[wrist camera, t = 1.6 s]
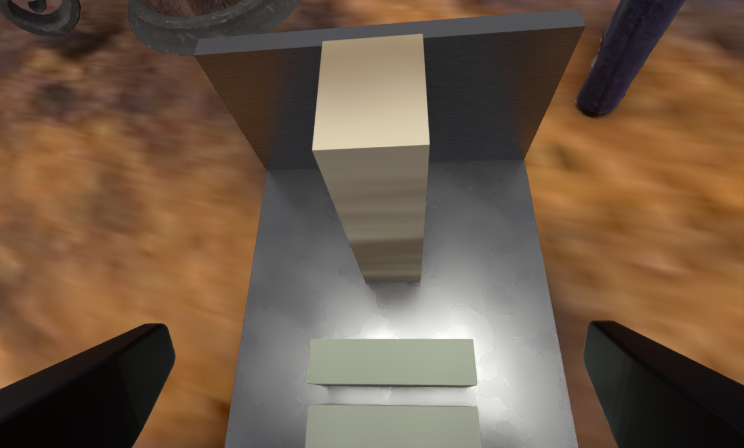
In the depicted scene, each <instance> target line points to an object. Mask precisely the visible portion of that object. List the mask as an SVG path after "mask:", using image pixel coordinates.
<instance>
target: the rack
mask: <svg viewBox="0 0 744 448" xmlns="http://www.w3.org/2000/svg"><path fill="white" fill-rule="evenodd" d="M584 28H585V24H584V21H583V18H582V15H581V12H580V9H572V10H559V11H546V12H534V13H521V14H508V15H496V16H483V17H470V18H458V19H445V20H432V21H420V22H407V23H394V24H382V25H369V26H356V27H344V28H331V29H318V30H306V31H293V32H280V33H268V34H255V35H242V36H230V37H217V38H204V39H199V40H198V44H197V47H196V51H195V54H194V56H195V57H196V59H197V61H198V62H199V64H200V65H201V67H202V69H203V70H204V72H205V73H206V75H207V76H208V78H209V80H210V81H211V83H212V84H213V86H214V88H215V89H216V91H217V92H218V94H219V95H220V97H221V99H222V100H223V102H224V103H225V105H226V107H227V108H228V110H229V111H230V113H231V114H232V116H233V118H234V119H235V121H236V122H237V124H238V126H239V127H240V129H241V130H242V132H243V133H244V135H245V137H246V138H247V140H248V141H249V143H250V145H251V146H252V148H253V149H254V151H255V152H256V154H257V156H258V157H259V159H260V160H261V162H262V163H263V165H264V167H265V168H266V170H267V173H266V180H265V186H264V193H263V199H262V206H261V213H260V219H259V226H258V232H257V239H256V245H255V252H254V258H253V265H252V271H251V278H250V284H249V291H248V297H247V304H246V310H245V317H244V323H243V330H242V336H241V343H240V349H239V356H238V362H237V369H236V375H235V382H234V388H233V395H232V401H231V408H230V415H229V421H228V428H227V434H226V441H225V447H224V448H305V441H306V428H307V414H308V405H309V404H344V405H410V406H471V407H478V414H479V425H480V435H481V446H482V448H578V443H577V438H576V433H575V427H574V422H573V417H572V411H571V406H570V401H569V395H568V390H567V385H566V379H565V374H564V369H563V363H562V358H561V353H560V348H559V342H558V337H557V332H556V326H555V321H554V316H553V310H552V305H551V300H550V294H549V289H548V284H547V278H546V273H545V268H544V262H543V257H542V252H541V246H540V241H539V236H538V231H537V225H536V220H535V215H534V209H533V204H532V199H531V193H530V188H529V183H528V177H527V172H526V167H525V161H524V158H525V156H526V154H527V152H528V150H529V147H530V145H531V143H532V141H533V139H534V137H535V134H536V132H537V130H538V128H539V126H540V123H541V121H542V119H543V117H544V115H545V113H546V110H547V108H548V106H549V104H550V102H551V99H552V97H553V95H554V93H555V91H556V89H557V86H558V84H559V82H560V80H561V78H562V76H563V73H564V71H565V69H566V67H567V65H568V62H569V60H570V58H571V56H572V54H573V52H574V49H575V47H576V45H577V43H578V41H579V38H580V36H581V34H582V32H583V30H584ZM412 34H423V47H424V63H425V79H426V95H427V110H428V126H429V142H430V147H429V162H428V178H427V193H426V208H425V223H424V239H423V254H422V269H421V281H417V282H365V281H364V278H363V276H362V273H361V271H360V268H359V266H358V263H357V261H356V258H355V256H354V253H353V251H352V248H351V246H350V243H349V241H348V239H347V236H346V234H345V231H344V229H343V226H342V224H341V221H340V219H339V216H338V214H337V211H336V209H335V206H334V204H333V201H332V199H331V196H330V194H329V191H328V189H327V186H326V184H325V181H324V179H323V176H322V174H321V171H320V169H319V166H318V164H317V161H316V159H315V156H314V154H313V151H312V147H313V136H314V126H315V116H316V105H317V95H318V84H319V74H320V64H321V53H322V43H323V41H333V40H346V39H360V38H373V37H386V36H399V35H412ZM310 339H473V342H474V352H475V363H476V373H477V383H478V385H476V386H472V387H468V388H457V387H362V386H319V385H313V384H307V376H308V363H309V350H310Z"/></svg>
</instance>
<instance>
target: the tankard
mask: <svg viewBox="0 0 744 448" xmlns="http://www.w3.org/2000/svg"><path fill="white" fill-rule="evenodd" d="M300 1H301V0H129V3H130V5H129V10H128V20H129V23H130V27H131V30H132V31H133V33H134V34H135V35H136V37H137V38H138V39H139V40H140V41H141V42H143V43H144V44H145V45H147V46H148V47H150V48H152V49H155V50H157V51H160V52H162V53H167V54H173V55H179V56H194V54H195V51H196V47H197V44H198V40H199V39H204V38H217V37H230V36H242V35H255V34H266V33H268V32H270V31H271V30H273V29H274V28H275V27H277V26H278V25H279V24H280V23H281V22H283V21H284V20H285V19H286V18H287V17H288V16H289V15H290V14H291V13H292V12H293V11H294V9H295V8H296V7H297V6H298V4H299V2H300ZM28 5H29V8H31V9H32V10H34V11H35V12H36V13H42V12H43V11H44V10H46V1H45V0H36V1H31V2H28ZM80 10H81V6H80V2H79V0H62V4H61V5H60V7H59V8H58V9H57V10H56V11H54V12H53V13H51V14H45V15H41V14H36V13H31V12H29V11H27V10H24V9H22V8H20V7H19V6H18V5H16V4H15V3H13V2H12V1H11V0H0V11H1V12H2V13H3V15H4V16H5V17H6V18H7V19H8V20H9V21H11V22H12V23H14V24H15V25H17V26H18V27H19V28H21V29H24V30H26V31H29V32H31V33H34V34H36V35H43V36H49V37H54V36H60V35H64V34H66V33H68V32H69V31H71V30H72V29H73V28H74V27H75V25H76V24H77V23H78V21H79V17H80Z"/></svg>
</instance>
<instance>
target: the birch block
mask: <svg viewBox="0 0 744 448" xmlns="http://www.w3.org/2000/svg"><path fill="white" fill-rule="evenodd" d="M429 147H430V142H429V126H428V110H427V95H426V79H425V63H424V47H423V34H412V35H399V36H386V37H373V38H360V39H346V40H333V41H323V43H322V53H321V64H320V74H319V84H318V95H317V105H316V116H315V126H314V136H313V147H312V151H313V154H314V156H315V159H316V161H317V164H318V166H319V169H320V171H321V174H322V176H323V179H324V181H325V184H326V186H327V189H328V191H329V194H330V196H331V199H332V201H333V204H334V206H335V209H336V211H337V214H338V216H339V219H340V221H341V224H342V226H343V229H344V231H345V234H346V236H347V239H348V241H349V243H350V246H351V248H352V251H353V253H354V256H355V258H356V261H357V263H358V266H359V268H360V271H361V273H362V276H363V278H364V281H365V282H417V281H421V269H422V254H423V239H424V223H425V208H426V193H427V178H428V162H429Z"/></svg>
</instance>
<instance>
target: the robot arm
mask: <svg viewBox="0 0 744 448" xmlns="http://www.w3.org/2000/svg"><path fill="white" fill-rule="evenodd" d="M583 361H584V365H585V368H586V371H587V373H588V376H589V378H590V381H591V383H592V385H593V388H594V390H595V393H596V395H597V398H598V400H599V403H600V405H601V408H602V410H603V413H604V415H605V418H606V420H607V423H608V425H609V427H610V430H611V432H612V434H613V437H614V439H615V441H616V443H617V445H618V447H619V448H744V385H742V384H740V383H738V382H736V381H734V380H732V379H730V378H728V377H726V376H724V375H722V374H720V373H718V372H716V371H714V370H712V369H710V368H708V367H706V366H704V365H702V364H700V363H698V362H696V361H694V360H692V359H690V358H688V357H686V356H684V355H681V354H679V353H677V352H675V351H673V350H671V349H669V348H667V347H665V346H663V345H661V344H659V343H657V342H655V341H653V340H651V339H649V338H647V337H645V336H643V335H641V334H639V333H637V332H635V331H633V330H631V329H629V328H627V327H625V326H623V325H621V324H619V323H617V322H614V321H610V320H604V321H591V322H590V323H589V325H588V327H587V333H586V339H585V346H584V352H583ZM174 363H175V351H174V347H173V344H172V340H171V337H170V334H169V330H168V328H167V326H166V325H164V324H162V323H149V324H144V325H141V326H139V327H137V328H135V329H132V330H130V331H128V332H126V333H123V334H121V335H119V336H117V337H115V338H112V339H110V340H108V341H106V342H104V343H101V344H99V345H97V346H95V347H92V348H90V349H88V350H86V351H84V352H81V353H79V354H77V355H75V356H73V357H70V358H68V359H66V360H64V361H62V362H59V363H57V364H55V365H53V366H50V367H48V368H46V369H44V370H42V371H39V372H37V373H35V374H33V375H31V376H28V377H26V378H24V379H22V380H20V381H17V382H15V383H13V384H11V385H8V386H6V387H4V388H2V389H0V448H132V447H133V445H134V443H135V442H136V440H137V438H138V436H139V435H140V433H141V431H142V429H143V427H144V425H145V423H146V421H147V419H148V417H149V415H150V413H151V411H152V409H153V407H154V405H155V403H156V401H157V399H158V397H159V395H160V393H161V391H162V389H163V387H164V384H165V382H166V380H167V378H168V376H169V374H170V372H171V370H172V368H173V366H174Z"/></svg>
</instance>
